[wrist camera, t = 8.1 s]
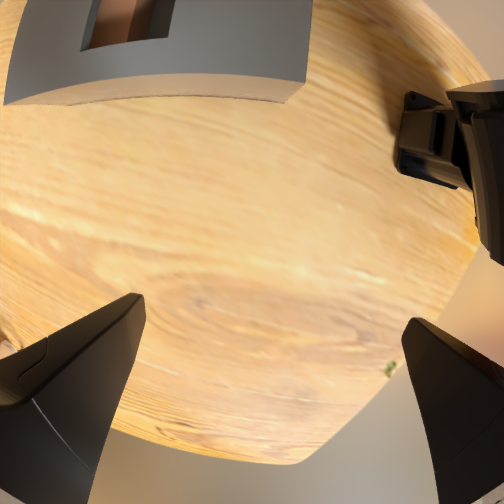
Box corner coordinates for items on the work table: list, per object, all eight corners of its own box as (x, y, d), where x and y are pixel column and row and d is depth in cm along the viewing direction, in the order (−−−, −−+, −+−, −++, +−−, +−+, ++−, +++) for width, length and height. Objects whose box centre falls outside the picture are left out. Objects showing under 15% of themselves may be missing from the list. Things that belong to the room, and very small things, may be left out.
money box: (297, -31, 11) (316, -87, 5) (283, 103, 16) (305, 83, 9) (97, -19, 11) (52, -52, 4) (70, 105, 15) (3, 105, 9)
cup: (-10, 329, 25) (-37, 361, 18) (26, 338, 25) (-4, 378, 18) (10, 363, 28) (-12, 396, 21) (48, 376, 28) (25, 416, 21)
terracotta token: (147, -33, 9) (93, -20, 8) (125, 48, 11) (71, 58, 11) (160, -15, 11) (111, -6, 11) (143, 58, 14) (94, 65, 14)
